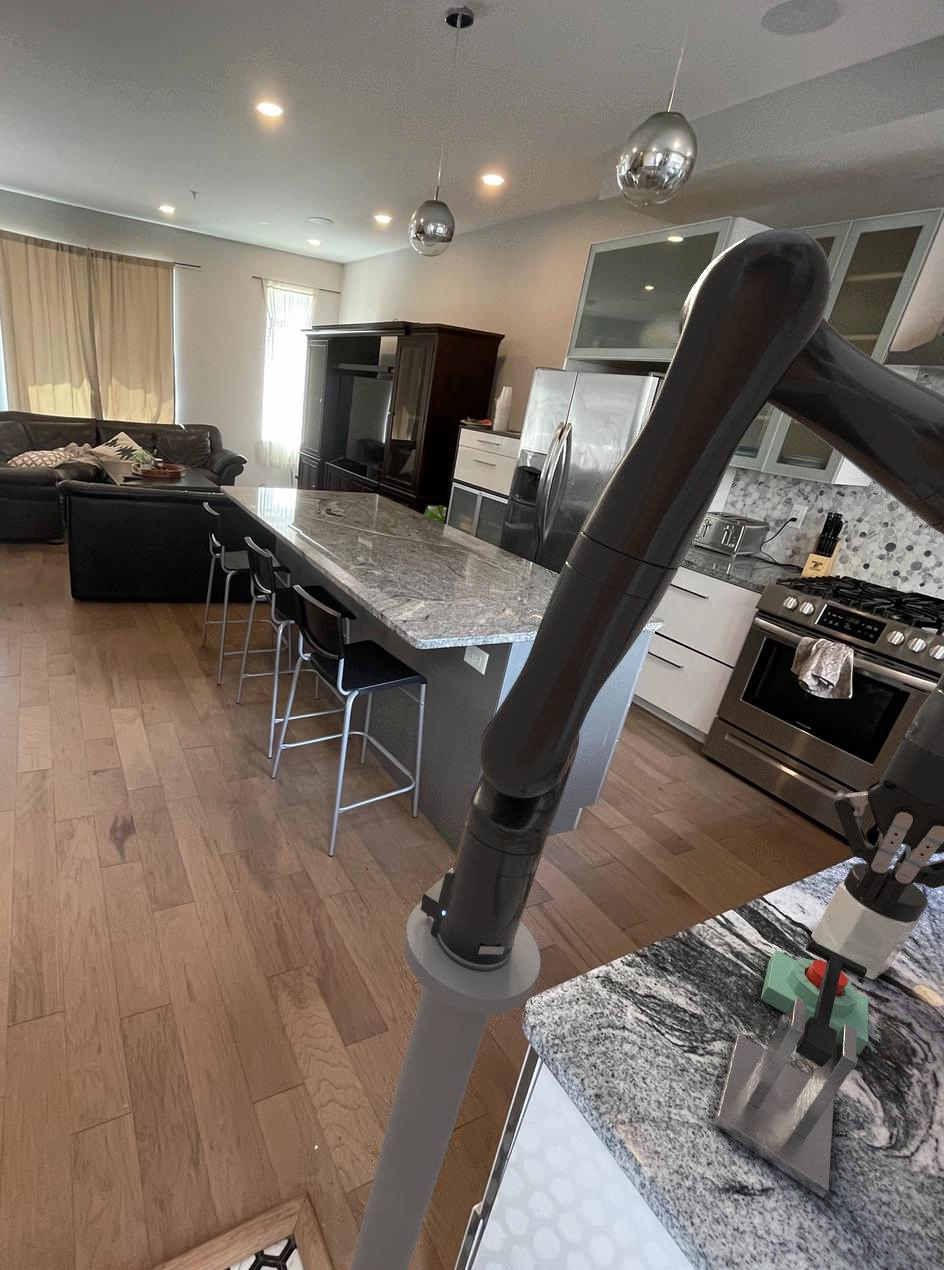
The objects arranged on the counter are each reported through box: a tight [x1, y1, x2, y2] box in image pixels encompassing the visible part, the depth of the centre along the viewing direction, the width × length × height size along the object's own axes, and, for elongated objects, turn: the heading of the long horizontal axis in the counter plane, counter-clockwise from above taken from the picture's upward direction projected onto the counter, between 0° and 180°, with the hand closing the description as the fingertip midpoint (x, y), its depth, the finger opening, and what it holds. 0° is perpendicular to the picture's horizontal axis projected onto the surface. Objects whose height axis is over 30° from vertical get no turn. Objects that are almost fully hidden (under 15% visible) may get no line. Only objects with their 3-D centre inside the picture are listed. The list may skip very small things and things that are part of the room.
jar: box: [810, 862, 929, 980], centre depth 83 cm, size 9×8×12 cm
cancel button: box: [806, 959, 849, 996], centre depth 74 cm, size 4×4×2 cm
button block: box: [760, 949, 869, 1056], centre depth 75 cm, size 10×8×4 cm
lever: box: [795, 939, 867, 1067], centre depth 61 cm, size 12×5×2 cm, turn 141°
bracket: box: [713, 997, 859, 1199], centre depth 60 cm, size 12×9×12 cm
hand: (870, 902), depth 61 cm, fingers closed
